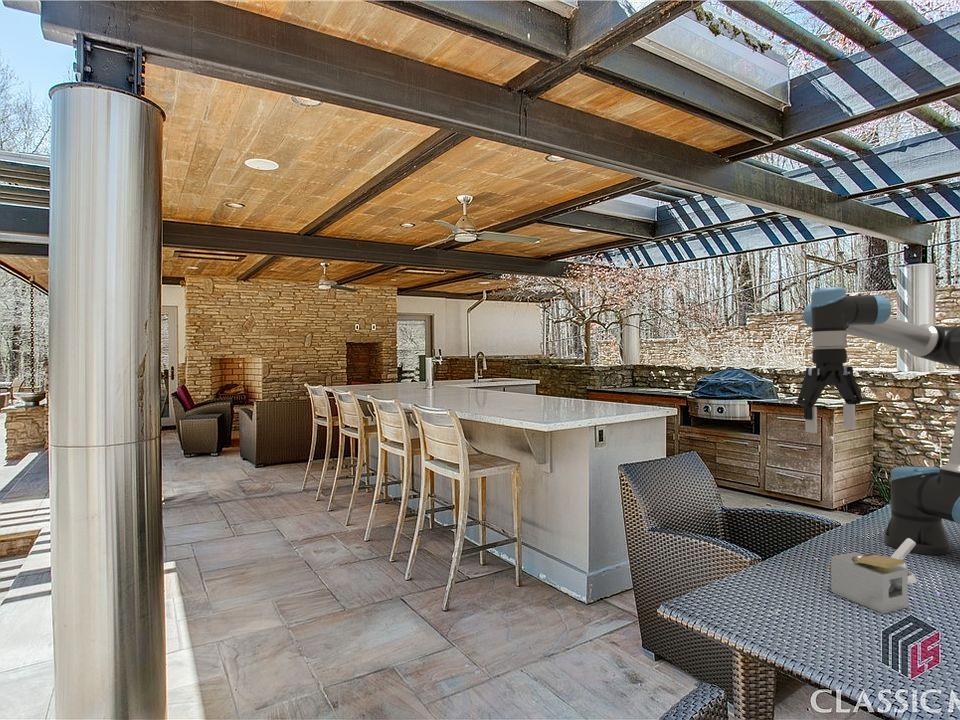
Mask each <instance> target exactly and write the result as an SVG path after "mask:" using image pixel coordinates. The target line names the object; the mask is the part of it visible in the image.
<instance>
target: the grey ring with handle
mask: <svg viewBox="0 0 960 720" xmlns="http://www.w3.org/2000/svg"><path fill="white" fill-rule="evenodd" d="M915 545H916V543H915V542H914V541H913V540H912V539H910V538H907V539H906V540H905V541H904V542H903V543H902V544H901V546H900V547H899V548H898V549H897V548H896V550H895V551H894V552H893V554H892V555H891V556H890V558H895V559H900V560H905V558H906V557H907V556H908V555H909V553H911V552H910V551H911V550H912V549H913V547H914V546H915ZM897 566H900V567H903V568H906V569H907V574H908V585H909V584H916V583H917V582H918V579H917V578H916V576H915V573H913V572H912V571H910V570H908V566H907V564H906V563H905V562H904V564H902V565H897Z"/></svg>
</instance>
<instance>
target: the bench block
mask: <svg viewBox="0 0 960 720" xmlns="http://www.w3.org/2000/svg"><path fill="white" fill-rule="evenodd" d="M860 555H864V554H862V553H859V552H857V551H854V552H853V551H852V552H848V553H842V554H837V555H832V556H830V564H831V572H830V574H831V579H830V582H831V593H832V592H833V593H832V594H834V593H835V594H834V595H838V596H839V595H840V596H839V597H841V598H844V597H845V598H844V599H846V598H847V599H846V600H849V599H850V600H849V601H852V602H854V603H856V604H858V605H861V606H864V607H866V608H869V609H871V610H873V611H876V612H879V613H880V612H881V614H887V613H892V612H895V611H899V610H903V609H906V608H909V588H908V587H909V584H908V574H907V570H908V568H907V569H906V568H903V567H900V566H892V567H888V568H883V567H879V566H874V565H869V564H864V563H860V562H853V561H852V557H855V556H860ZM891 579H893V580H894V583H895V586H894V589H893V591H892V592H891V593H889V588H888V580H891Z"/></svg>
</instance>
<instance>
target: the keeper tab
mask: <svg viewBox="0 0 960 720" xmlns="http://www.w3.org/2000/svg"><path fill="white" fill-rule="evenodd" d="M852 561H853V562H860V563H864V564H869V565H874V566H879V567H883V568H888V567H892V566H897V565H902V564H904V563H905V559H903V560H900V559H895V558H891V556H890V557H889V556H886V555H885V556H884V555H880V554H879V555H878V554H874V553H872V552H871V553H867V554H863V555H860V556H855V557H852Z"/></svg>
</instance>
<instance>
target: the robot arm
mask: <svg viewBox="0 0 960 720" xmlns="http://www.w3.org/2000/svg"><path fill="white" fill-rule="evenodd" d="M810 299H811V301H810V302H811V303H810V304H807V306H805V308H804V310H803V315H802V318H803V322H804V323H805V324H806V325H807V326H808V327H809V328H811V332H812V333H811V335H812V336H811V337H812V340H811V341H812V347H813V348H814V349H812V350H811V354H812V355H811V357H812V363H813V364H815V367H806V368H805V377H804V378H803V379H804V380H803V383H802V385H801V388H800V391H799V395H798V397H797V399H796V403H797V404H798V405H799V406H800V407H803V417H804V418H803V419H804V423H805V425H804V426H805V427H804V428H805V429H804V430H805V433H811V434H818V407H817V406H815V405H816V403H817V401H818V400H819V397H821V394H822V393H823V391H824V389H825V387H828V386H830V385H831V386H832V385H833V386H835V388H836V390H837V391H838V393H839V394H840V396H841V397H842V400H844V402H845V403H842V411H843V412H842V414H843V415H842V416H843V417H842V419H843V420H842V421H843V423H842V424H843V430H845V429H846V430H853V431H854V430H856V429H857V428H856V425H857V424H856V416H857V407H856V405H861V402H863V397H862V394H861V391H860V388H859V386H858V383H857V380H856V378H855V375H854V368H853V366H847V365H845V366H844V364H846V363H847V362H848V358H847V357H848V355H847V354H848V351H847V349H846V348H845V347H846V346H848V343H847V341H848V339H847V334H848V335H850V336H854V337H858V338H861V339H865V340H870V341H872V342H876V343H879V344H884V345H888V346H891V347H894V348H898V349H901V350H904V351H905V350H906V351H908V353H909V354H910V355H912V356H914V357H916V358H917V357H918V358H921V359H925V360H928V361H932V362H934V363H939V364H941V365H945V366H951V367H958V372H959V373H960V325H954V326H949V325H948V326H937V325H932V324H928V323H926V324H925V323H924V324H921V325H918V324H915V323H911V322H908V321H904V320H900V319H897V318H894V317H891V314H892V305H891V302H890V301H889V299H888V298H887V297H885V296H883V295H875V294H871V295H870V294H869V295H847V293H846V289H845V287H841V286H833V287H829V286H828V287H821V288H817V289H813V291H812V292H811V298H810ZM889 487H890V488H889V489H890V509H891V510H890V511H891V514H890V515H891V516H890V519H889V521H888V524H887V526H886V529H885V532H884V543H885V544H886V545H887V546H890V547H892V548H894V549H896V550H897V549H898V548H899V547H900V546H901V544H902V543H903V542H904V541H905V540H906V539H907V538H910V539H912V540H913V541H914V542H915V543H916V545H915V546H914V547H913V549H912V550H911V551H910V552H909V553H915V554H920V555H930V556H931V555H933V556H935V555H936V556H938V555H939V556H941V555H947V554H948V555H949V554H950V553H951V550H952V549H951V541H950V540H949V537H948V535H947V532H946V529H945V527H944V525H943V520H945V521H949V522H952V523H956V524H958V525H960V403H959V405H958V412H957V416H956V422H955V426H954V432H953V437H952V443H951V448H950V454H949V457H948V463H947V464H945V465H942V466H941V467H937V466H936V467H935V466H897V467H894V468H892V469H891V471H890V479H889Z"/></svg>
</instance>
